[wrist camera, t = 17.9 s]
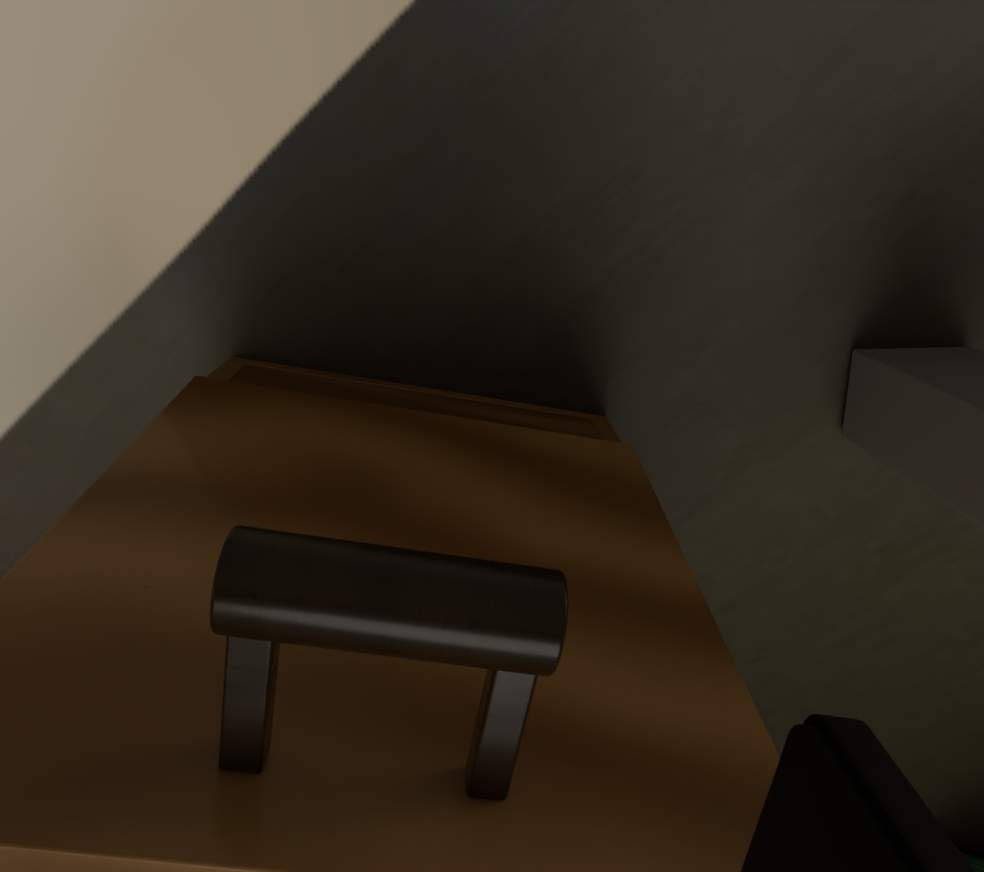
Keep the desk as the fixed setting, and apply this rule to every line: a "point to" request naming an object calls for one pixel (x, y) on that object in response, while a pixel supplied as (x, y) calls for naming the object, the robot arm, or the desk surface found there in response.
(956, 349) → the vintage mobile phone
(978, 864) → the coffee box
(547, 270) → the desk surface
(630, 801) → the lid
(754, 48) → the desk surface
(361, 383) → the chest
